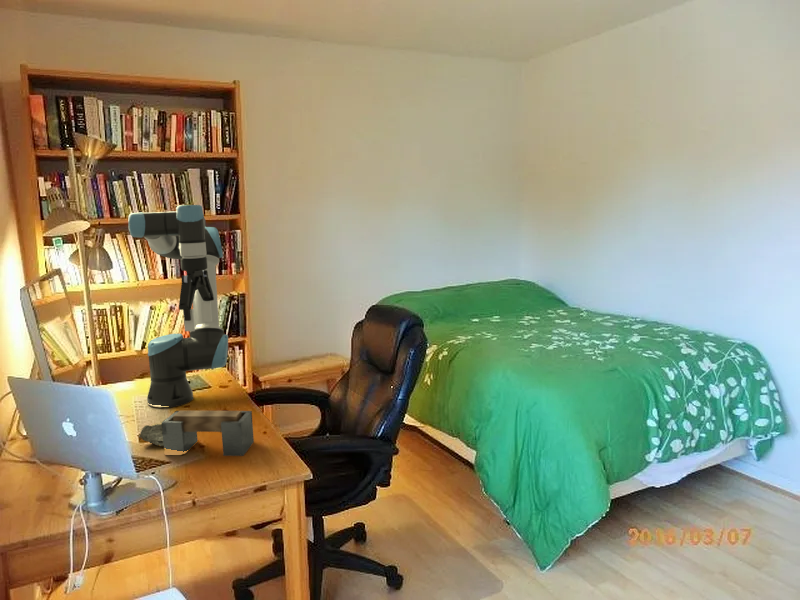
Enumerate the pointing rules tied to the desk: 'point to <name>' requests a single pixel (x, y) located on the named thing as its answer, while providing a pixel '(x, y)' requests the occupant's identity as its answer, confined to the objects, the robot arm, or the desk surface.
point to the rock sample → (152, 434)
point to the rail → (205, 420)
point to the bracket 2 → (237, 435)
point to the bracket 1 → (177, 435)
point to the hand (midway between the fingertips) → (199, 326)
